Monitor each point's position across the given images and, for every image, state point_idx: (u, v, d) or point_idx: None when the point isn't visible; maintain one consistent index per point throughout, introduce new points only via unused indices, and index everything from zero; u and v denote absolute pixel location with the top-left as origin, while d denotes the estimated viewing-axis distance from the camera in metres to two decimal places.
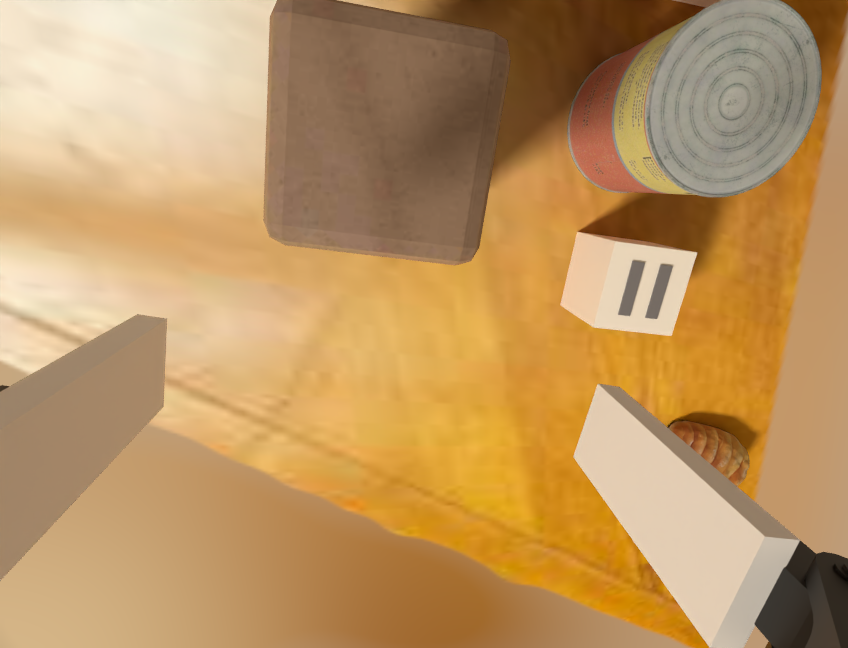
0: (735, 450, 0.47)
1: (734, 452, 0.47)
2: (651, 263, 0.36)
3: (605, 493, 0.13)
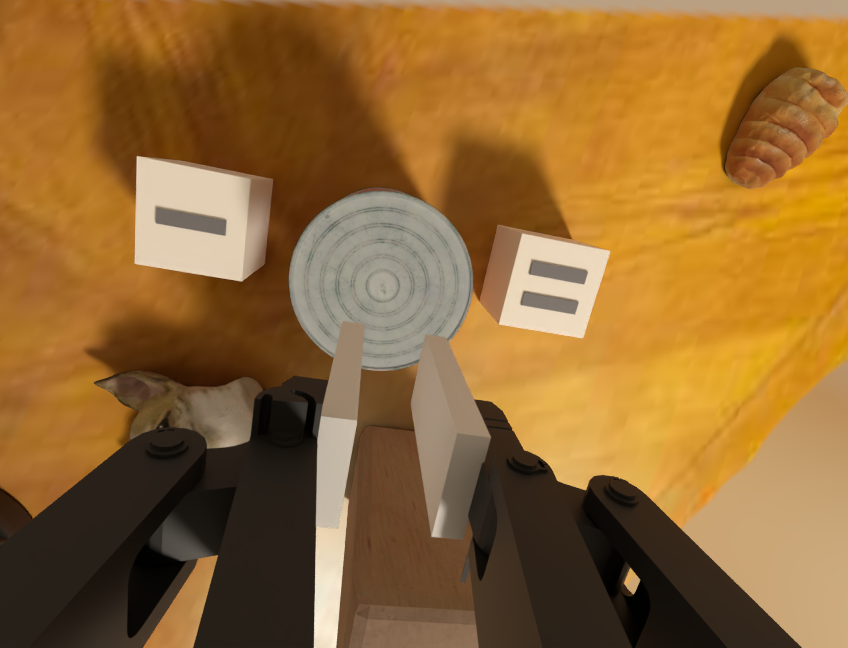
0: (790, 96, 0.36)
1: (793, 99, 0.36)
2: (526, 283, 0.34)
3: (416, 428, 0.14)
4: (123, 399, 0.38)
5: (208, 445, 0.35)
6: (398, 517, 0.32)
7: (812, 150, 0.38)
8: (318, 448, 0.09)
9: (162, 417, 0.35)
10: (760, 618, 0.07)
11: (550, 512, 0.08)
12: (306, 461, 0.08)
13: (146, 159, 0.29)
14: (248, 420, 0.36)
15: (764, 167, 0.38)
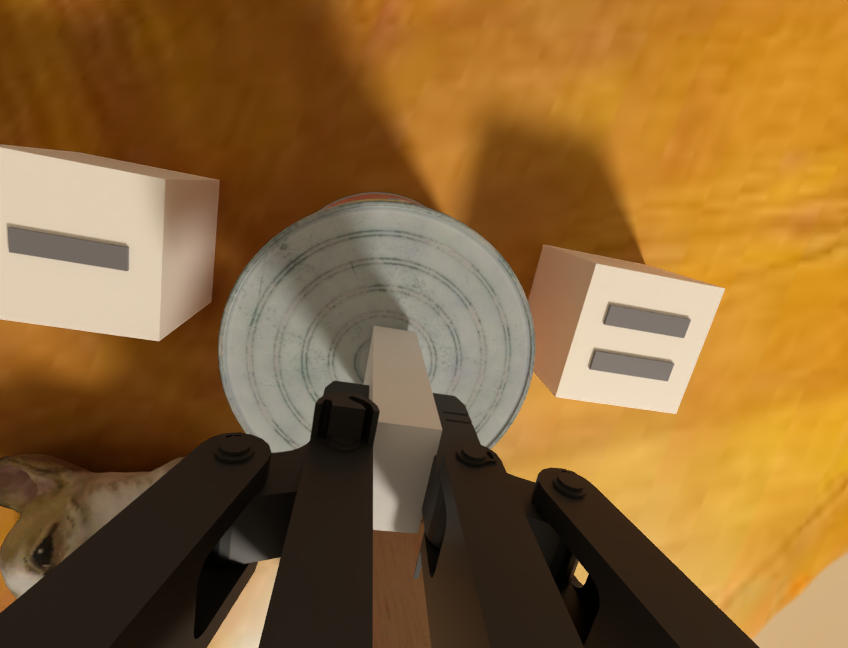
0: None
1: None
2: (599, 338, 0.23)
3: None
4: None
5: None
6: None
7: None
8: None
9: (44, 534, 0.23)
10: (704, 605, 0.07)
11: (499, 504, 0.08)
12: (363, 467, 0.08)
13: None
14: None
15: None
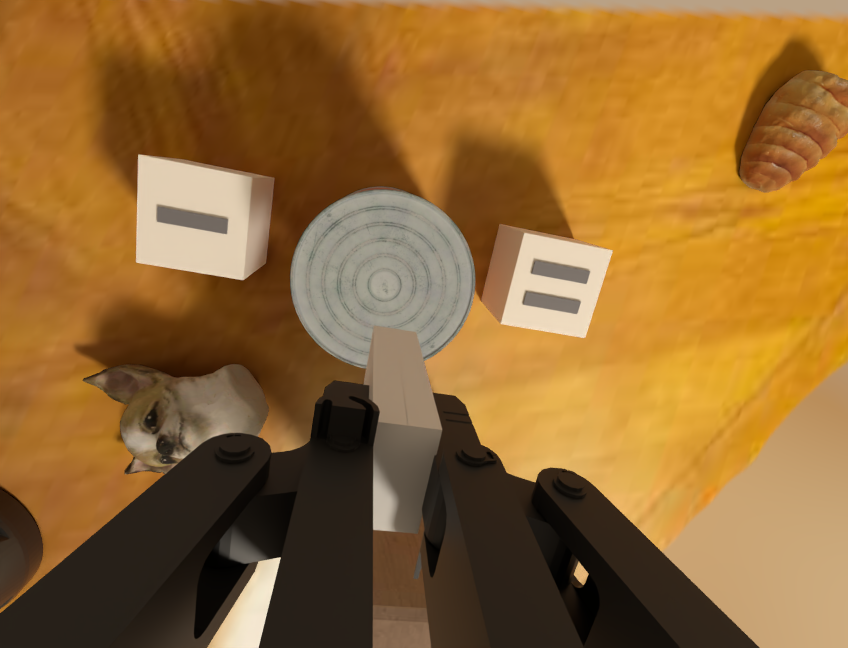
0: (803, 100, 0.36)
1: (805, 103, 0.36)
2: (528, 283, 0.34)
3: None
4: (113, 394, 0.38)
5: (198, 433, 0.35)
6: None
7: (827, 151, 0.38)
8: None
9: (150, 407, 0.35)
10: (704, 605, 0.07)
11: (499, 504, 0.08)
12: (363, 467, 0.08)
13: (147, 157, 0.29)
14: (236, 405, 0.35)
15: (779, 171, 0.38)
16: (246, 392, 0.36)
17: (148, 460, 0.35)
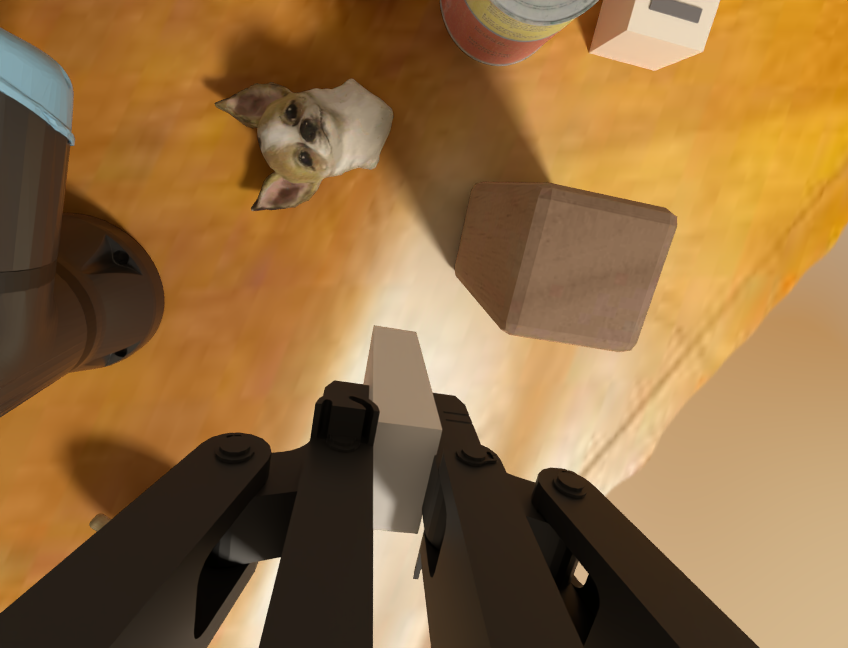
0: None
1: None
2: None
3: None
4: (244, 115, 0.40)
5: (335, 124, 0.37)
6: None
7: None
8: None
9: (289, 103, 0.37)
10: (704, 605, 0.07)
11: (498, 504, 0.08)
12: (363, 467, 0.08)
13: None
14: (369, 98, 0.37)
15: None
16: None
17: (288, 157, 0.37)
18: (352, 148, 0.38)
